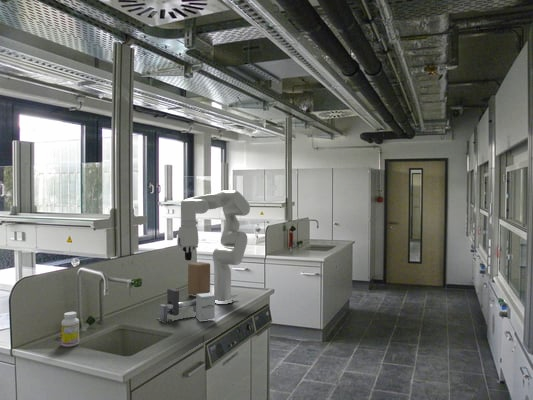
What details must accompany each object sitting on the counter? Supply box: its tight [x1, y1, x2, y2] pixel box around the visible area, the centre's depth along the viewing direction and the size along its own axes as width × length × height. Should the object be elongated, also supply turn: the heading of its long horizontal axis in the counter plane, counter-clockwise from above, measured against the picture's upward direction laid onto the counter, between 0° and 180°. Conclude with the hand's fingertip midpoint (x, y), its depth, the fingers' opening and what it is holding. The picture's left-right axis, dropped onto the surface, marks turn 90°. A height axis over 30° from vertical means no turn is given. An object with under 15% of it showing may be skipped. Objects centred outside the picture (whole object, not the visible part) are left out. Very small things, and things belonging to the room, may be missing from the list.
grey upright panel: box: [166, 287, 180, 316], centre depth 218 cm, size 2×7×12 cm, turn 41°
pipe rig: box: [156, 298, 196, 323], centre depth 220 cm, size 22×8×8 cm, turn 131°
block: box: [187, 261, 211, 295], centre depth 267 cm, size 10×10×20 cm
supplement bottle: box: [60, 311, 80, 348], centre depth 179 cm, size 7×7×13 cm
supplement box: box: [195, 292, 216, 320], centre depth 216 cm, size 7×7×13 cm
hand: (188, 260), depth 223 cm, fingers closed
